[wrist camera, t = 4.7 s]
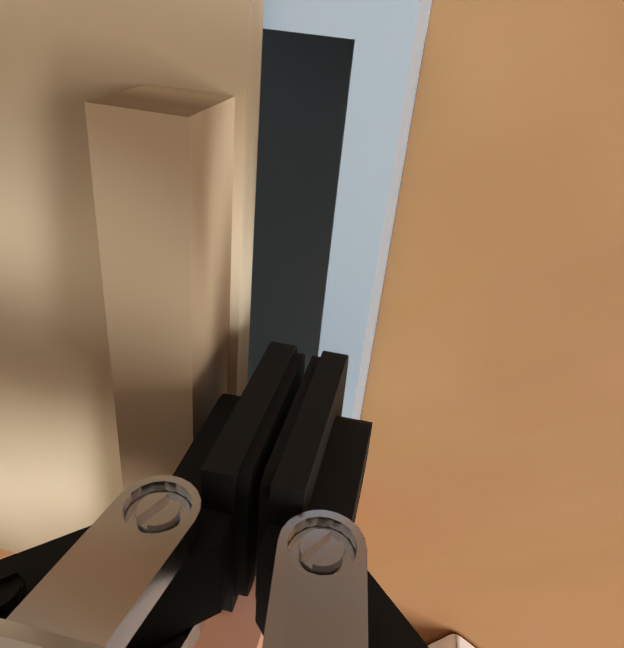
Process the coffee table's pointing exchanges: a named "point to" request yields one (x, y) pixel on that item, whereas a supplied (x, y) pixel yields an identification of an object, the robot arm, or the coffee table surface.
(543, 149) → the coffee table surface
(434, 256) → the coffee table surface
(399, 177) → the blue open box
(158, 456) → the lid
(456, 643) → the ink box
